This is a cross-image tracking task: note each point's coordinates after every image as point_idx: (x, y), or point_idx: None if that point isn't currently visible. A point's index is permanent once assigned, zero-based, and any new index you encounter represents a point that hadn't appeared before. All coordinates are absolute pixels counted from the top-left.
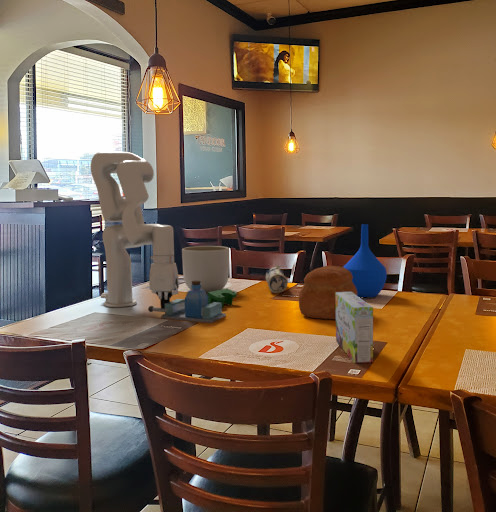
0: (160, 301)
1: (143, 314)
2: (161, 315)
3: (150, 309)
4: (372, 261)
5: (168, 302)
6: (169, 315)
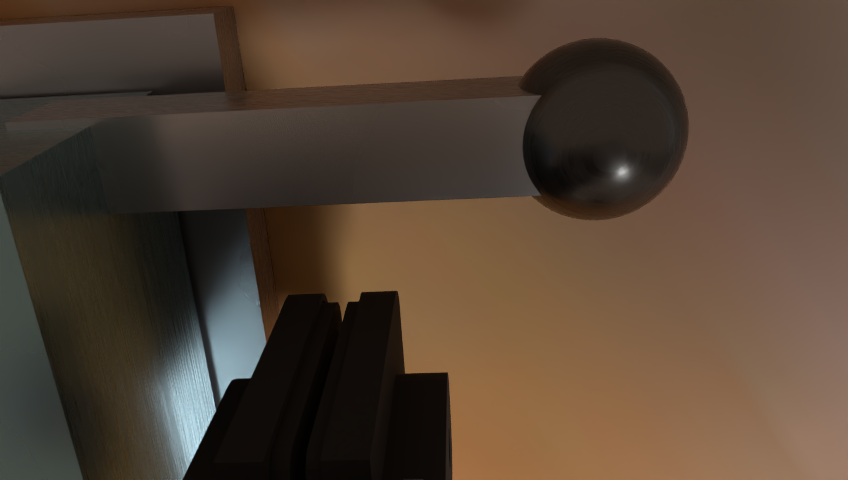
0: (441, 460)
1: (840, 157)
2: (200, 12)
3: (568, 50)
4: None
5: (18, 362)
6: (24, 86)
